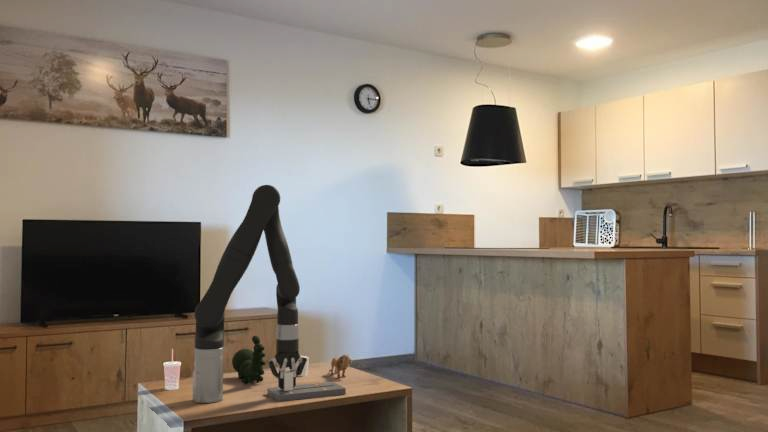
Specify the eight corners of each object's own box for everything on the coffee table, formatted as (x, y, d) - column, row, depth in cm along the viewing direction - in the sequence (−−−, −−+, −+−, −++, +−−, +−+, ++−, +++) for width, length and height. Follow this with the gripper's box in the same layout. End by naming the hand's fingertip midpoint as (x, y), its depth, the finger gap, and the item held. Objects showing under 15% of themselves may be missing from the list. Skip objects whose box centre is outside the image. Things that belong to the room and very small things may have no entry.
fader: (284, 396, 223) (284, 372, 223) (280, 393, 226) (281, 370, 226) (293, 395, 224) (293, 372, 224) (289, 393, 227) (289, 370, 228)
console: (278, 401, 217) (278, 395, 217) (267, 393, 228) (267, 387, 228) (345, 394, 228) (345, 388, 228) (332, 387, 239) (332, 381, 239)
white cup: (307, 376, 257) (307, 358, 258) (290, 376, 257) (290, 358, 258) (309, 373, 264) (310, 355, 264) (292, 373, 264) (292, 355, 264)
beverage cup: (182, 389, 235) (183, 349, 236) (165, 391, 232) (165, 350, 232) (178, 385, 240) (179, 346, 241) (161, 387, 237) (161, 348, 238)
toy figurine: (270, 389, 242) (249, 371, 264) (273, 338, 241) (251, 324, 263) (245, 392, 237) (226, 373, 259) (247, 340, 236) (228, 325, 258)
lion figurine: (354, 378, 255) (354, 354, 255) (342, 380, 251) (342, 356, 252) (334, 372, 266) (334, 349, 267) (322, 373, 263) (323, 350, 264)
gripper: (270, 340, 219) (270, 392, 219) (310, 337, 225) (310, 388, 225) (264, 337, 226) (263, 388, 225) (303, 334, 232) (302, 384, 232)
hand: (287, 388), depth 225 cm, fingers closed on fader, 3 cm apart
